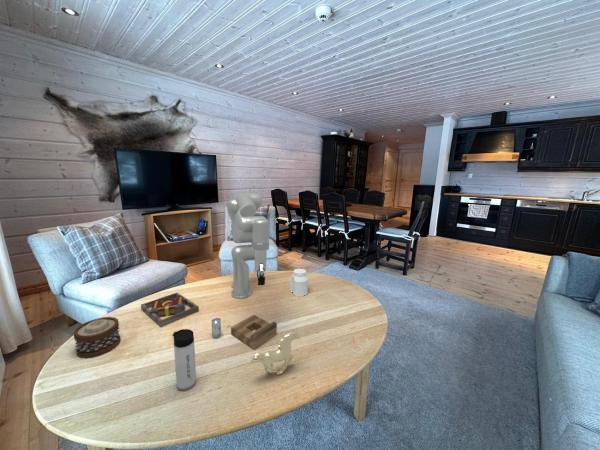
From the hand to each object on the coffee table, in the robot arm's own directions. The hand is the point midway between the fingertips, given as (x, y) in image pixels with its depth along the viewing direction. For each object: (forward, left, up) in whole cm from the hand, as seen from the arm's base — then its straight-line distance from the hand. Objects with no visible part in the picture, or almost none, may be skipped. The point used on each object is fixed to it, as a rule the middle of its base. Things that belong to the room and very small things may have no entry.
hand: (260, 280), depth 115 cm
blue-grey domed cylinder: (-11, -17, -25) cm, 32 cm away
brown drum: (-42, -53, -25) cm, 72 cm away
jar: (-10, +43, -25) cm, 50 cm away
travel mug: (+4, -39, -25) cm, 47 cm away
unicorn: (+25, -15, -25) cm, 39 cm away
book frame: (-49, -21, -25) cm, 59 cm away
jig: (+1, -5, -25) cm, 26 cm away
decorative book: (-49, -22, -25) cm, 59 cm away
